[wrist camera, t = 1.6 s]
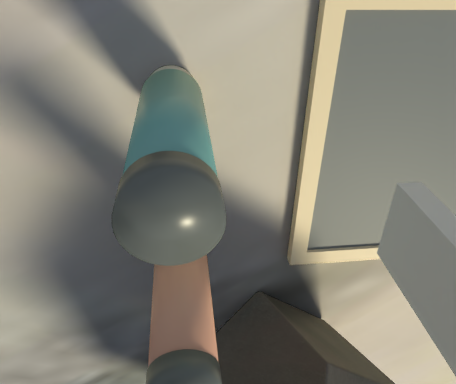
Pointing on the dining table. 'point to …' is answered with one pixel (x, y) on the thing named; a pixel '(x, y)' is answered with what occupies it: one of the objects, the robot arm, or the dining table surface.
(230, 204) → the dining table surface
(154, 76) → the teal marker
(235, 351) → the planter
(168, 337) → the coral marker
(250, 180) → the dining table surface
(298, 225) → the slate board
